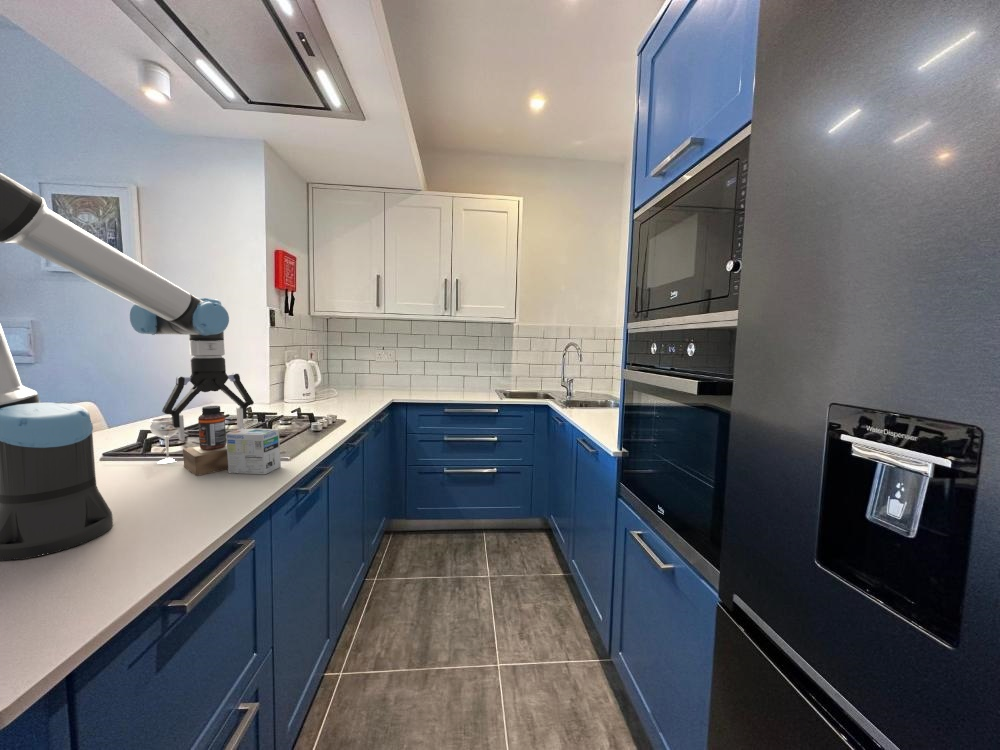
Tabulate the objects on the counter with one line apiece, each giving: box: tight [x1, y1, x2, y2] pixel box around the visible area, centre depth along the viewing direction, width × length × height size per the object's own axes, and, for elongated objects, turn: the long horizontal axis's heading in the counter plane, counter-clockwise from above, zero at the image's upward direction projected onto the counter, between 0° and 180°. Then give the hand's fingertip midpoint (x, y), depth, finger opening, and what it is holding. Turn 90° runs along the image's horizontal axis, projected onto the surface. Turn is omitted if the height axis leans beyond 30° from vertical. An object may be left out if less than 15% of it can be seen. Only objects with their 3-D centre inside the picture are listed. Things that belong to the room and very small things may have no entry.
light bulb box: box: [226, 427, 282, 475], centre depth 108 cm, size 11×7×11 cm, turn 84°
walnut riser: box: [182, 442, 228, 477], centre depth 111 cm, size 11×11×5 cm
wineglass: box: [149, 416, 178, 464], centre depth 115 cm, size 7×7×12 cm
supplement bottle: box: [197, 405, 227, 450], centre depth 110 cm, size 6×6×11 cm
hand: (212, 434), depth 111 cm, fingers open, 13 cm apart
